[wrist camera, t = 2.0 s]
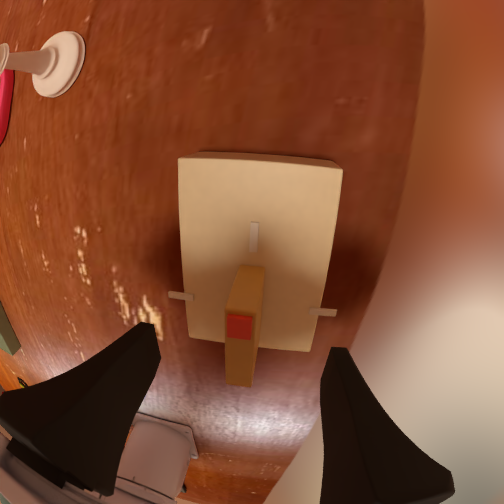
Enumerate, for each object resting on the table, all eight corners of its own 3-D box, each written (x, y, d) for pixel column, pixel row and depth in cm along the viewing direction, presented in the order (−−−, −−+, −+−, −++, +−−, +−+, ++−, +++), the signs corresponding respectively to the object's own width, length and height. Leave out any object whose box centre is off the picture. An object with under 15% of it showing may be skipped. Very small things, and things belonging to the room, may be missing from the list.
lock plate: (317, 336, 18) (319, 370, 15) (191, 321, 19) (176, 352, 16) (348, 162, 13) (364, 172, 11) (183, 151, 14) (158, 158, 11)
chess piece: (58, 110, 14) (-67, 133, 5) (30, 78, 12) (-78, 90, 4) (97, 48, 12) (-35, 32, 3) (64, 22, 11) (-47, 7, 2)
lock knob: (259, 338, 15) (250, 392, 12) (237, 336, 15) (224, 388, 12) (265, 266, 13) (256, 316, 10) (239, 263, 13) (222, 312, 10)
